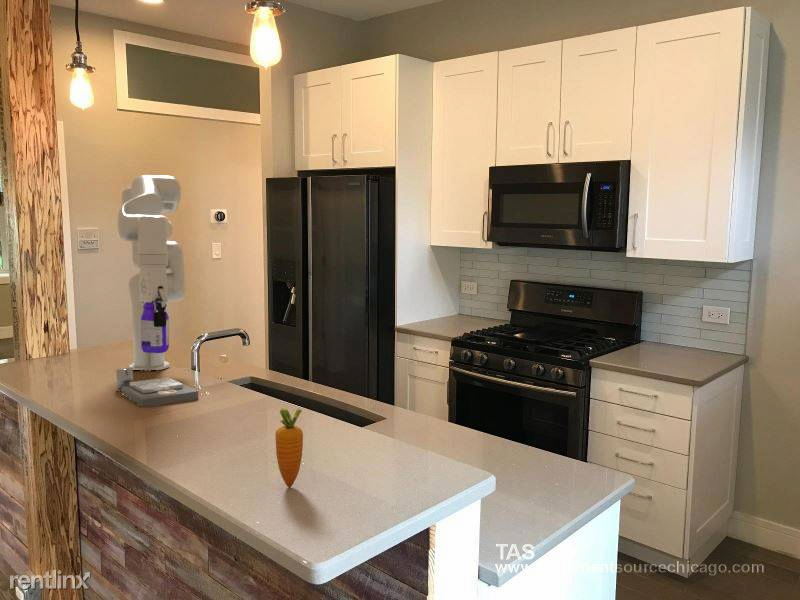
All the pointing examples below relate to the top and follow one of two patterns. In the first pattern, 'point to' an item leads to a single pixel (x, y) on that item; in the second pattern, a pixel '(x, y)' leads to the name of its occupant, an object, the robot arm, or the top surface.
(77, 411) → the top surface
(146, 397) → the scale
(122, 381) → the cylinder
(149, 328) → the bottle
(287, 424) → the carrot
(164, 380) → the platform
